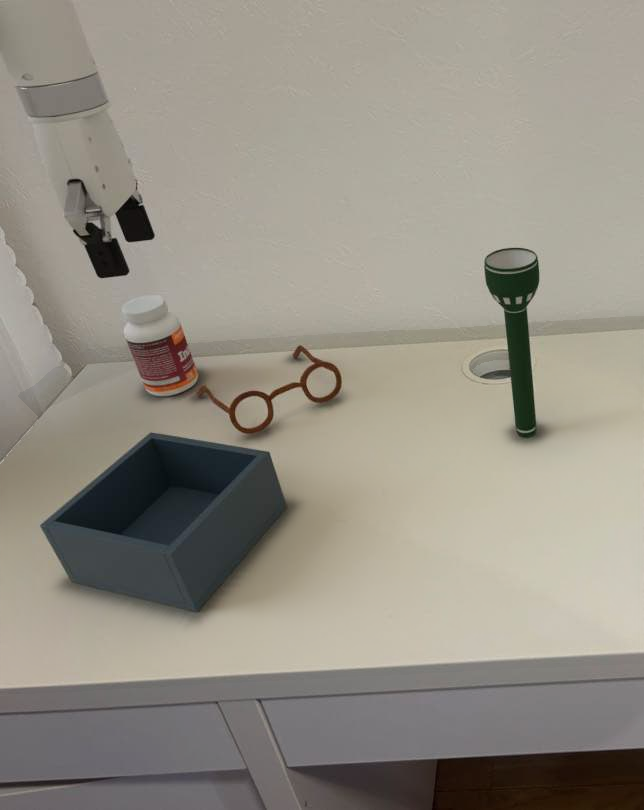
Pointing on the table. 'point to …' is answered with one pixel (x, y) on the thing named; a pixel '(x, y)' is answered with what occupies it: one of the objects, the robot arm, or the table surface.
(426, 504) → the table surface
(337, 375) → the glasses
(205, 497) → the bin
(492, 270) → the flashlight
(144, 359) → the pill bottle
